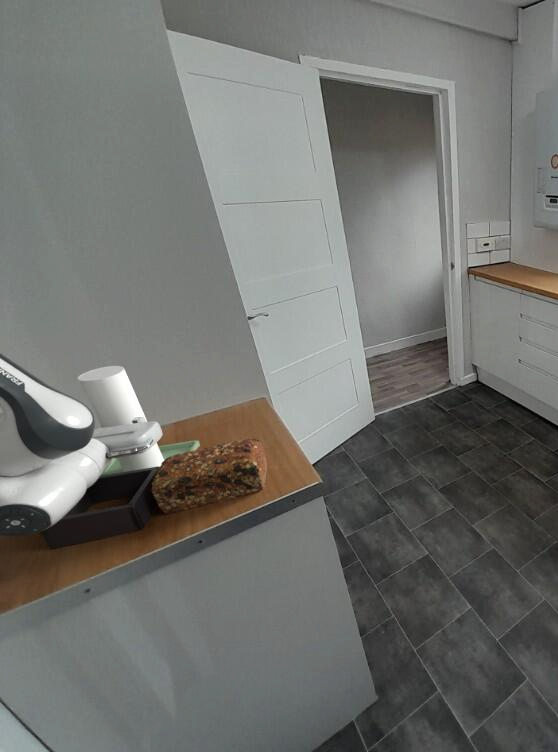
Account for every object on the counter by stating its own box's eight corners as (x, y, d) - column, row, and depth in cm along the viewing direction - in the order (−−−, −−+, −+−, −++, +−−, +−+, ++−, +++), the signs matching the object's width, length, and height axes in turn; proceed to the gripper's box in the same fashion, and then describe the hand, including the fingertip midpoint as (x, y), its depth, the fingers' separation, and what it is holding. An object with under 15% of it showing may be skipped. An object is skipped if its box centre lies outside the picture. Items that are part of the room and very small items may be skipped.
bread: (270, 465, 98) (260, 430, 94) (265, 494, 89) (253, 457, 85) (176, 485, 91) (160, 449, 87) (160, 519, 82) (142, 480, 78)
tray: (82, 499, 87) (79, 493, 86) (117, 458, 100) (114, 452, 99) (179, 482, 92) (176, 476, 92) (200, 445, 105) (198, 439, 105)
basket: (50, 549, 75) (35, 524, 73) (88, 502, 86) (77, 479, 84) (143, 530, 80) (132, 506, 77) (168, 488, 91) (159, 466, 88)
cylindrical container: (132, 463, 97) (87, 368, 87) (169, 456, 100) (129, 363, 89) (120, 482, 91) (70, 383, 81) (159, 474, 94) (115, 377, 83)
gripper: (140, 436, 76) (168, 402, 88) (-7, 457, 70) (44, 418, 82) (151, 464, 79) (177, 427, 91) (11, 487, 72) (58, 444, 84)
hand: (113, 423), depth 86 cm, fingers open, 8 cm apart
